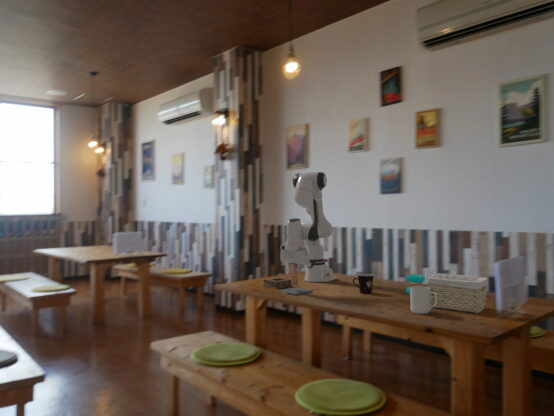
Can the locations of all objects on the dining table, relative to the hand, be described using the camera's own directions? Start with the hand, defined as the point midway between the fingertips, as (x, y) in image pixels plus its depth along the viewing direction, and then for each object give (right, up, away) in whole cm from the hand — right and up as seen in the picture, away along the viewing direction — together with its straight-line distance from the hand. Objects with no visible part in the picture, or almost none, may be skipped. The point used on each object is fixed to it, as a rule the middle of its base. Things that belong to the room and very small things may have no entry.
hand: (294, 271), depth 257 cm
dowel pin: (0, -8, 0) cm, 8 cm away
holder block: (-10, -12, +14) cm, 21 cm away
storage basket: (+75, -11, -45) cm, 88 cm away
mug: (+57, -12, -53) cm, 78 cm away
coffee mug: (+38, -12, -5) cm, 40 cm away
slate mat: (0, -12, 0) cm, 12 cm away
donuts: (+66, -11, -9) cm, 68 cm away
